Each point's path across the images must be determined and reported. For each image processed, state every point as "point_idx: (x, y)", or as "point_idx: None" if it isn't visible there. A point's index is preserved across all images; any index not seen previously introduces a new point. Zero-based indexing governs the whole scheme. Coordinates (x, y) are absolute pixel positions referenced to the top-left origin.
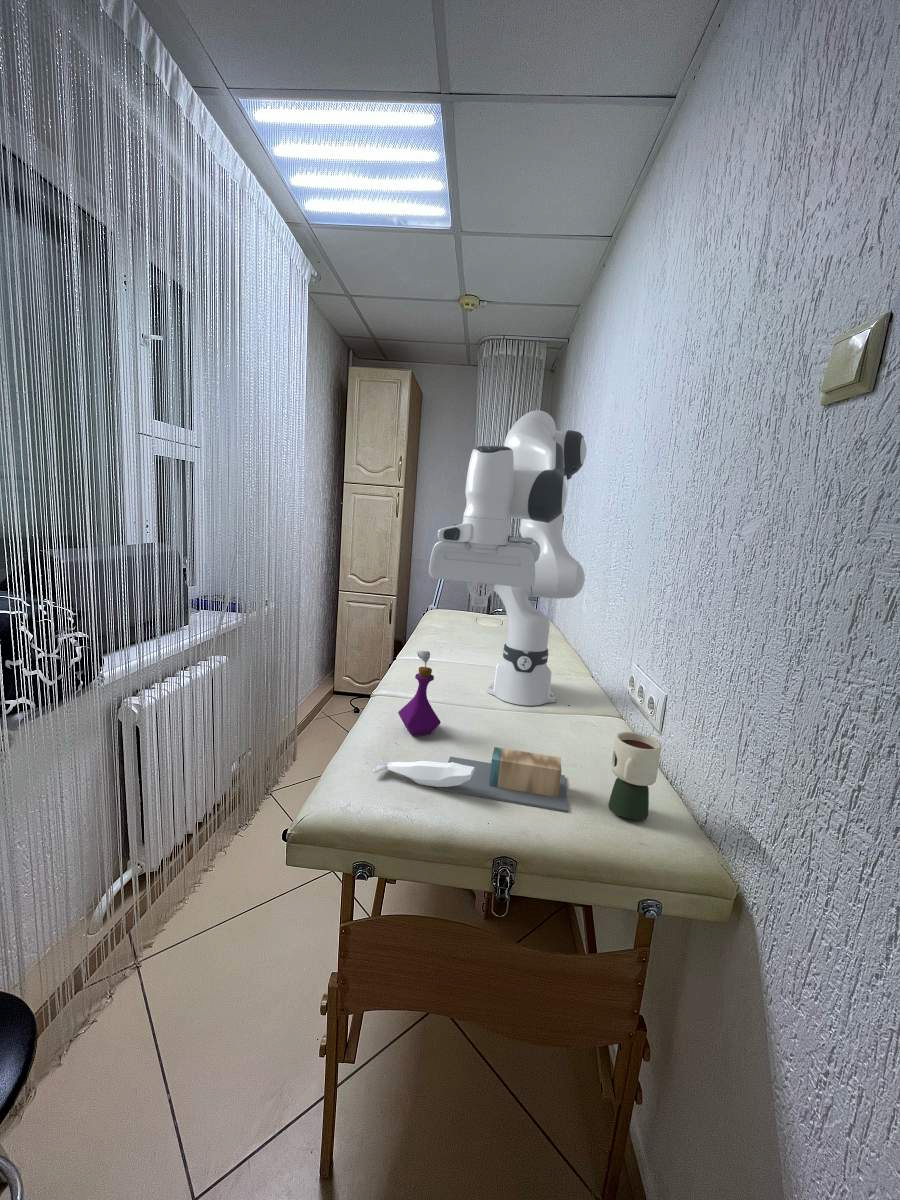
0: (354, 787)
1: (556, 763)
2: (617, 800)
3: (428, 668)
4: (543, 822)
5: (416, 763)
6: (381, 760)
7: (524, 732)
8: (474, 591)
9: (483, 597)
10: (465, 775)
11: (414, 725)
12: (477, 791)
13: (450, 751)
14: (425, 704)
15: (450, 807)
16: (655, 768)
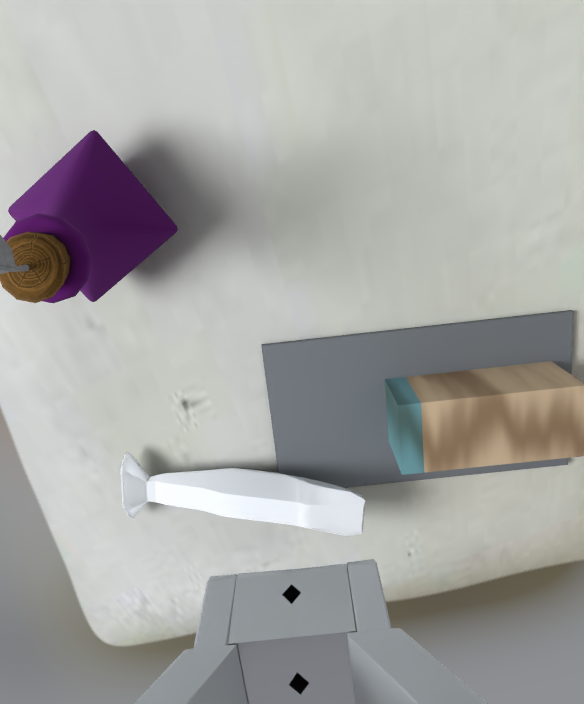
0: (119, 549)
1: (572, 425)
2: None
3: (45, 273)
4: (513, 512)
5: (217, 503)
6: (124, 484)
7: (446, 37)
8: (198, 694)
9: (348, 692)
10: (349, 535)
11: (110, 288)
12: (368, 474)
13: (249, 303)
14: (101, 240)
15: (327, 537)
16: None
